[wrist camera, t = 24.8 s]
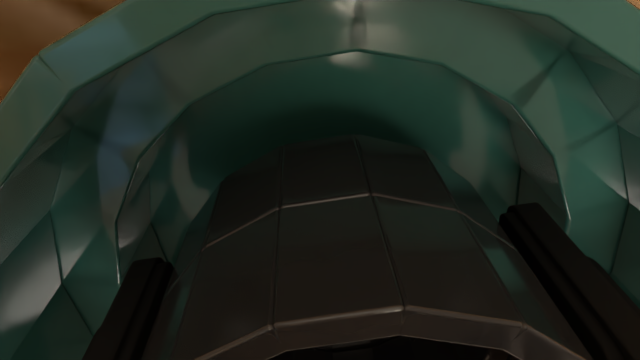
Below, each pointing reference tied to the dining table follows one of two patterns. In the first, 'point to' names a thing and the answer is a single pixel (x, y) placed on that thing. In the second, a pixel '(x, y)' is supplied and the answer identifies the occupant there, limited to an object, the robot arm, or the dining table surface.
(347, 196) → the charcoal bowl
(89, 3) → the dining table surface
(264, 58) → the green bowl
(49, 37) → the dining table surface
